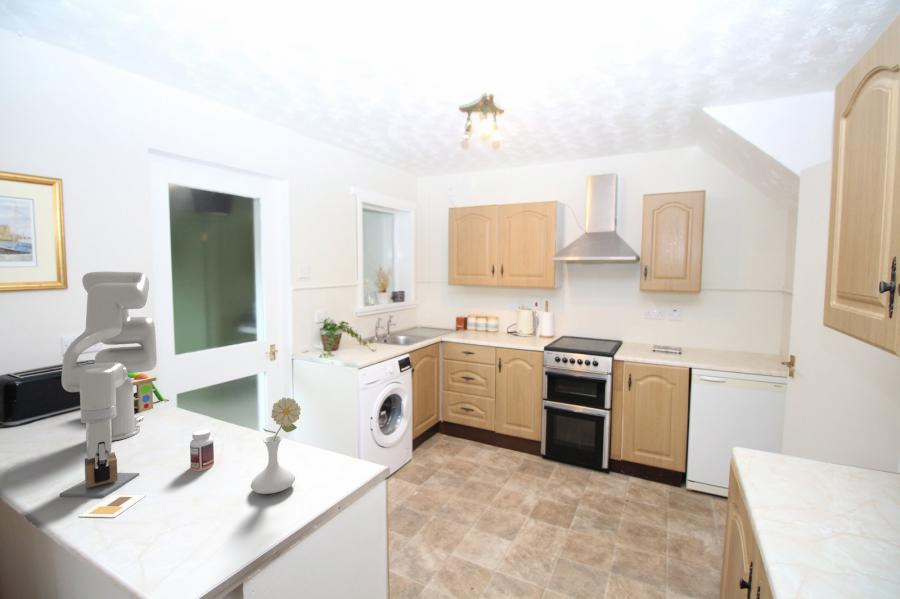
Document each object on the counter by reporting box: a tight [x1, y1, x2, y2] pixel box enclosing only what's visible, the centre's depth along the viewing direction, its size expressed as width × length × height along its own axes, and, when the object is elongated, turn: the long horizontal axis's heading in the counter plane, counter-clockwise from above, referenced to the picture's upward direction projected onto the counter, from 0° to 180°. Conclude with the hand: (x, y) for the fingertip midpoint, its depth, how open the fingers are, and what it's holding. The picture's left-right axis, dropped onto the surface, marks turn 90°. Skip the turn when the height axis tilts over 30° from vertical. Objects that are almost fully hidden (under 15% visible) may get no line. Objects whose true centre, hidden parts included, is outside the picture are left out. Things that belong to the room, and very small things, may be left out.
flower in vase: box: [250, 397, 302, 495], centre depth 115 cm, size 13×11×25 cm
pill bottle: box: [189, 429, 215, 472], centre depth 127 cm, size 6×6×11 cm
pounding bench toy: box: [127, 372, 170, 413], centre depth 177 cm, size 23×14×18 cm, turn 158°
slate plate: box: [59, 472, 140, 498], centre depth 115 cm, size 12×12×1 cm
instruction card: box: [77, 494, 147, 519], centre depth 105 cm, size 10×9×1 cm
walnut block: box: [84, 451, 118, 488], centre depth 115 cm, size 6×6×6 cm
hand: (101, 476), depth 115 cm, fingers closed on walnut block, 6 cm apart
